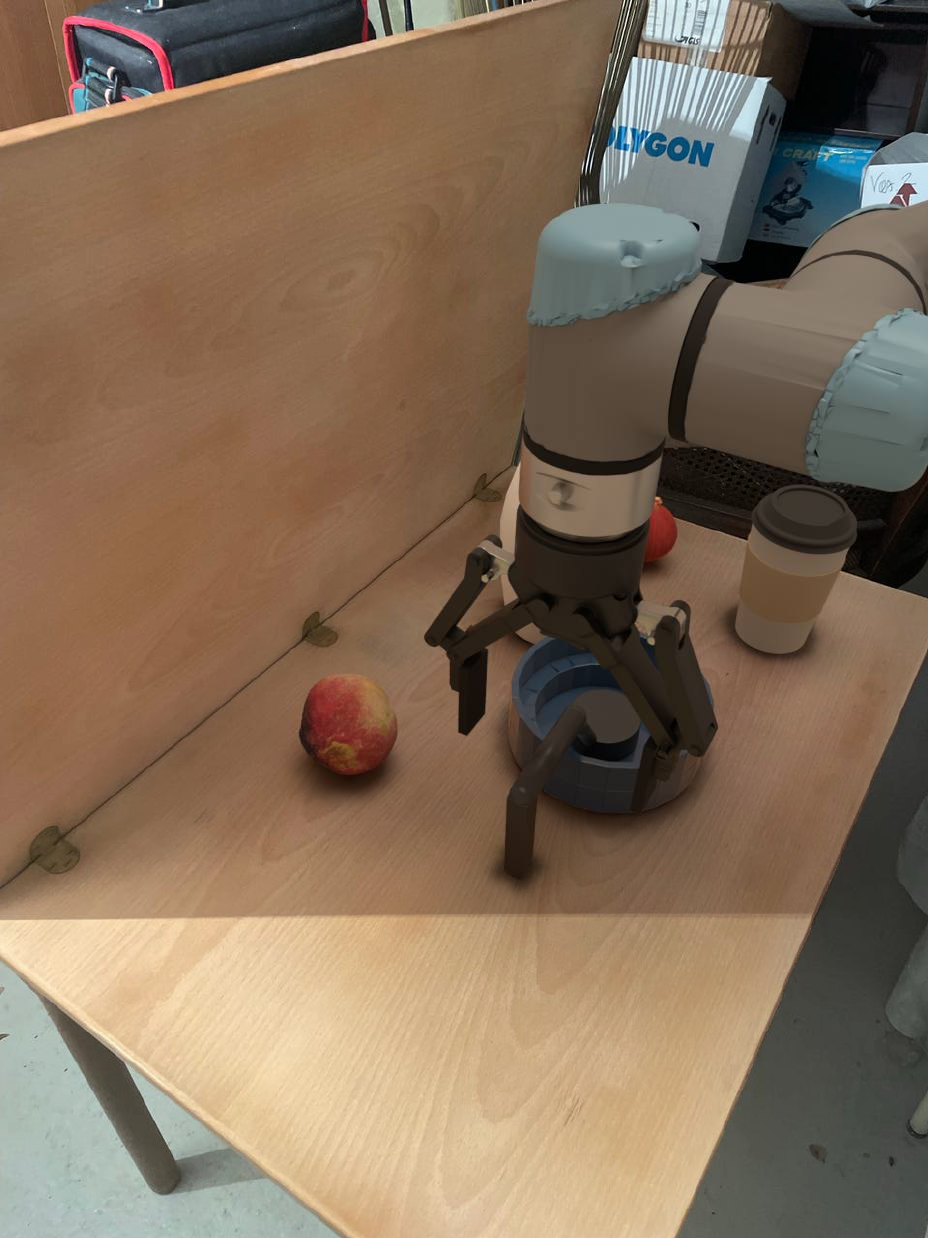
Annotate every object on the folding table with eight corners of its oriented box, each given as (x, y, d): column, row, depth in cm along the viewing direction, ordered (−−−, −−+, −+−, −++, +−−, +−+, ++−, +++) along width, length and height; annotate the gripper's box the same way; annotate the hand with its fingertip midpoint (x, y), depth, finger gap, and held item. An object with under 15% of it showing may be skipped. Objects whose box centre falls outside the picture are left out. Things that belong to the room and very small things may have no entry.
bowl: (725, 718, 79) (740, 669, 75) (656, 851, 68) (670, 801, 64) (560, 652, 85) (565, 603, 81) (473, 764, 74) (475, 714, 71)
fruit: (409, 782, 73) (407, 713, 68) (316, 807, 71) (306, 738, 66) (382, 716, 78) (378, 648, 73) (295, 738, 76) (284, 669, 71)
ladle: (585, 698, 79) (595, 615, 73) (648, 724, 77) (665, 641, 70) (477, 858, 67) (477, 777, 61) (548, 895, 65) (557, 815, 58)
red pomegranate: (631, 581, 94) (642, 517, 89) (606, 550, 98) (616, 487, 93) (680, 571, 95) (694, 507, 90) (654, 541, 99) (666, 478, 94)
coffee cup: (704, 627, 88) (737, 497, 79) (756, 590, 93) (793, 463, 83) (785, 675, 83) (830, 543, 74) (836, 632, 88) (884, 503, 78)
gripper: (363, 474, 53) (379, 724, 66) (787, 621, 43) (703, 877, 57) (432, 423, 58) (434, 665, 71) (826, 544, 48) (740, 797, 62)
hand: (553, 760), depth 64 cm, fingers open, 13 cm apart
